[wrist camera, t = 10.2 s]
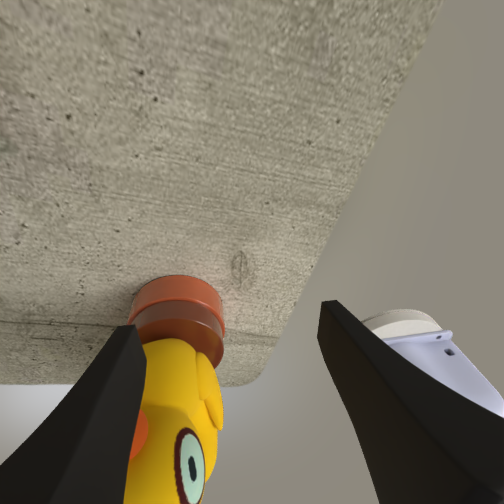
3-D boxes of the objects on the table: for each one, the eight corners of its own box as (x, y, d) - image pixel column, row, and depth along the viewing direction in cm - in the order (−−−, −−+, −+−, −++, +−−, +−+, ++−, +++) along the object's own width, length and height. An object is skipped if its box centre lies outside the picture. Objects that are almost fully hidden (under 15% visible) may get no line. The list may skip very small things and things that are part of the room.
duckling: (89, 305, 17) (-16, 530, 9) (177, 279, 17) (153, 481, 9) (168, 405, 23) (150, 594, 15) (233, 386, 23) (250, 565, 15)
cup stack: (219, 270, 23) (222, 309, 19) (225, 335, 26) (229, 378, 23) (121, 280, 22) (105, 323, 18) (143, 345, 26) (133, 392, 22)
